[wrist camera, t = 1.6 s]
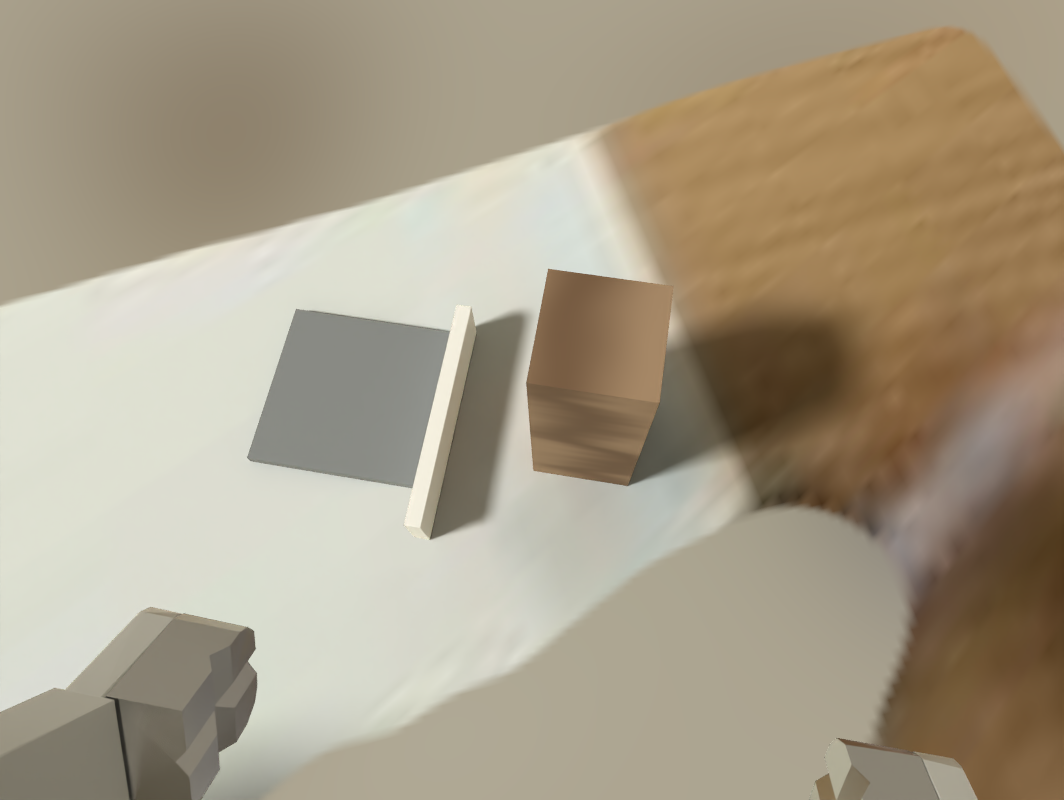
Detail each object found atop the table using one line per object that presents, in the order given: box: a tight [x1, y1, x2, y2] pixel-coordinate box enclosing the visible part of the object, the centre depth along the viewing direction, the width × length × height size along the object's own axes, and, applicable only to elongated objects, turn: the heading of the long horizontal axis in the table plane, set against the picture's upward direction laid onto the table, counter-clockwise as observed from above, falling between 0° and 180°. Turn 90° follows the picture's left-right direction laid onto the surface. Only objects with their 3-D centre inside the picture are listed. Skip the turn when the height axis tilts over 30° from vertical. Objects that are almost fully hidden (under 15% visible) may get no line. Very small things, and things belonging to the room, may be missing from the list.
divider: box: [404, 305, 477, 540], centre depth 38 cm, size 1×12×3 cm, turn 169°
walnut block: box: [526, 269, 674, 486], centre depth 34 cm, size 5×5×12 cm
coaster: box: [247, 309, 450, 488], centre depth 40 cm, size 9×9×1 cm
